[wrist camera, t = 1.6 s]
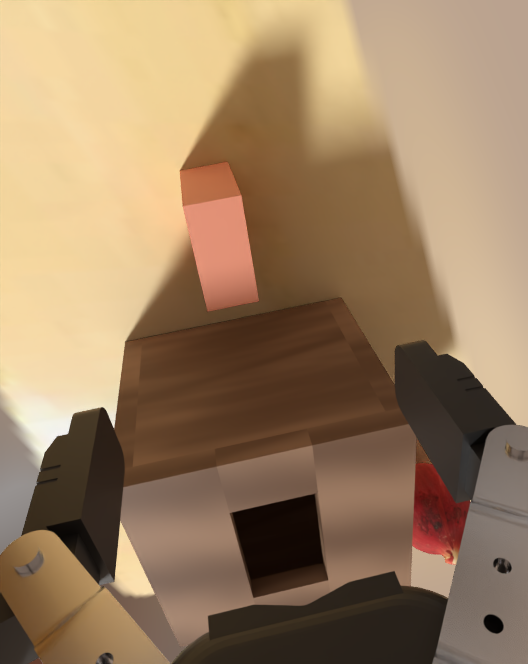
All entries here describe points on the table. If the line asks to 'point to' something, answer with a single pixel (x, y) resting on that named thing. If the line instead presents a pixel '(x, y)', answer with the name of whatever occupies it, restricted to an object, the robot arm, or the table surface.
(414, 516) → the red pomegranate
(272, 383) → the box
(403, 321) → the table surface
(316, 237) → the table surface
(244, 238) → the tall salmon pink box
